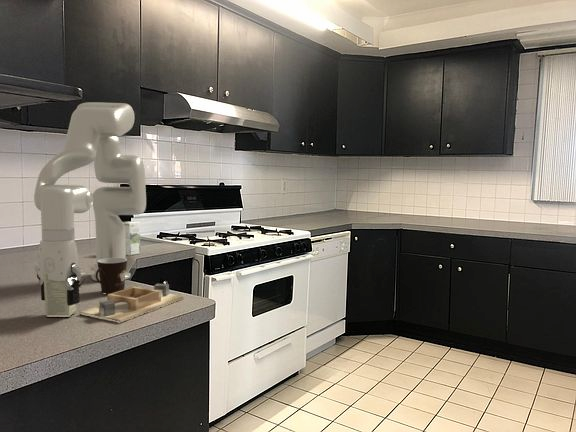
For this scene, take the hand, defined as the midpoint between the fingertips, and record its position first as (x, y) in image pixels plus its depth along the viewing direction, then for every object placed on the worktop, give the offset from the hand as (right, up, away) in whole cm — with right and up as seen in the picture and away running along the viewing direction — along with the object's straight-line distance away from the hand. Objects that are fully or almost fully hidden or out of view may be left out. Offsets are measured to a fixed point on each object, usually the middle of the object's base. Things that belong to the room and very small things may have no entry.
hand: (60, 301), depth 122 cm
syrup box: (-10, +5, +86) cm, 87 cm away
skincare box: (0, -4, 0) cm, 4 cm away
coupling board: (+16, -3, +9) cm, 19 cm away
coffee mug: (+4, -2, +23) cm, 23 cm away
